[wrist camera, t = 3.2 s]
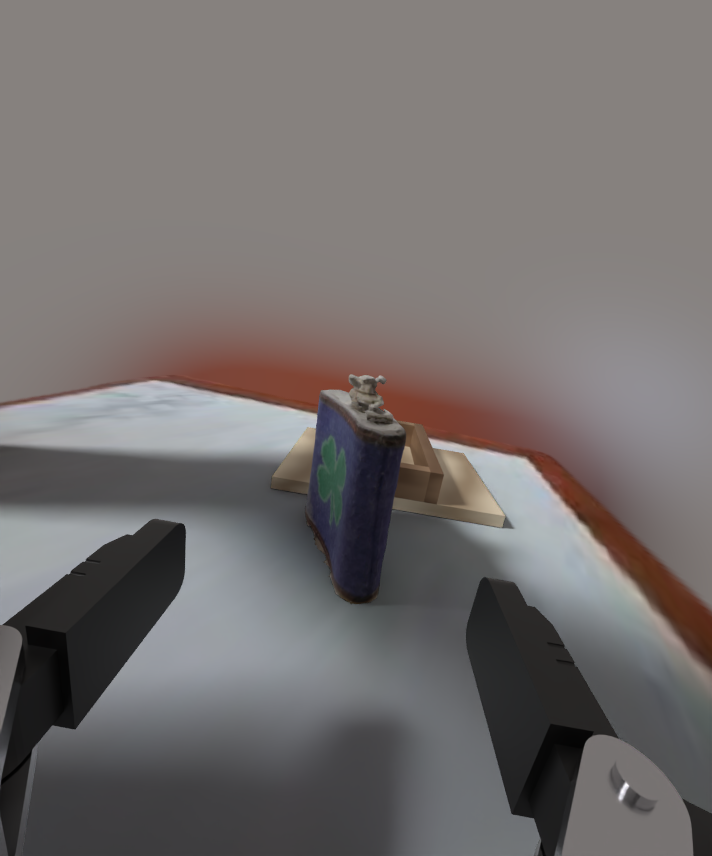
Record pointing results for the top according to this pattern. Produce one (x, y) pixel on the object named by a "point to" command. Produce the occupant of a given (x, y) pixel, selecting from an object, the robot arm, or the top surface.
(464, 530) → the top surface
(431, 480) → the slot board
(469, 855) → the top surface
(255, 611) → the top surface
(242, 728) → the top surface
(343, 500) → the flask
